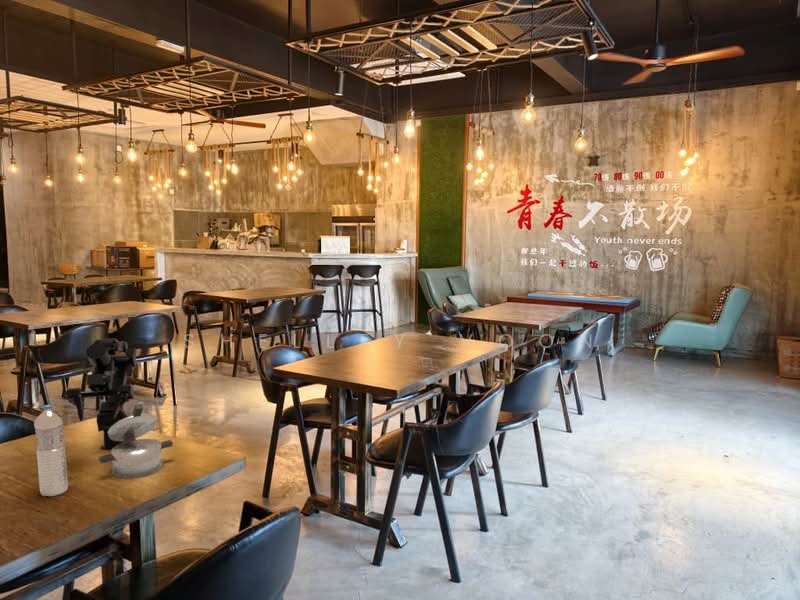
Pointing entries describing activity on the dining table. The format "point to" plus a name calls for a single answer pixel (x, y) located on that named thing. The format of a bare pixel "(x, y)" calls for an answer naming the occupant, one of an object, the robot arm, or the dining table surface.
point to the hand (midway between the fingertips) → (97, 419)
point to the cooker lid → (132, 425)
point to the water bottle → (51, 453)
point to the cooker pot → (136, 457)
